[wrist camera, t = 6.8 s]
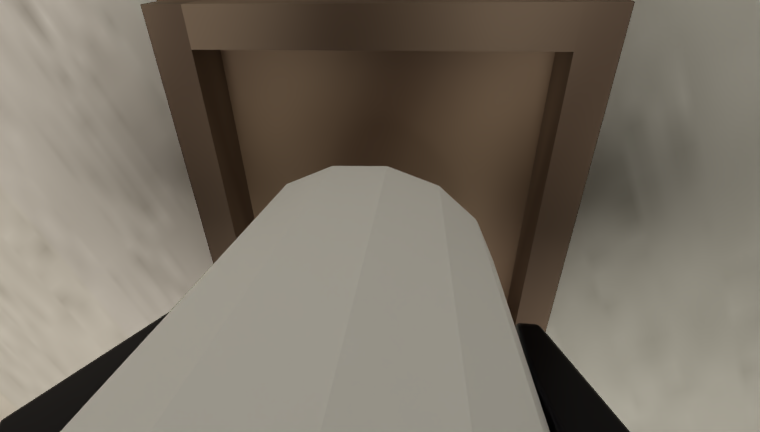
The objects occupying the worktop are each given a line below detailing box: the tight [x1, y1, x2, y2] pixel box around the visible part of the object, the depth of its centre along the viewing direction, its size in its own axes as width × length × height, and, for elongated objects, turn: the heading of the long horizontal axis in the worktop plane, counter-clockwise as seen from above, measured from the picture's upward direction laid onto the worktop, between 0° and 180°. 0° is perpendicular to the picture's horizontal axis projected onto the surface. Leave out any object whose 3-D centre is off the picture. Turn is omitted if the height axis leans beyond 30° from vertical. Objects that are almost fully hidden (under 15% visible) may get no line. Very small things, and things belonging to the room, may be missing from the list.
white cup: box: [60, 166, 550, 432], centre depth 7 cm, size 7×7×7 cm
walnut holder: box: [140, 0, 635, 332], centre depth 13 cm, size 12×12×2 cm
